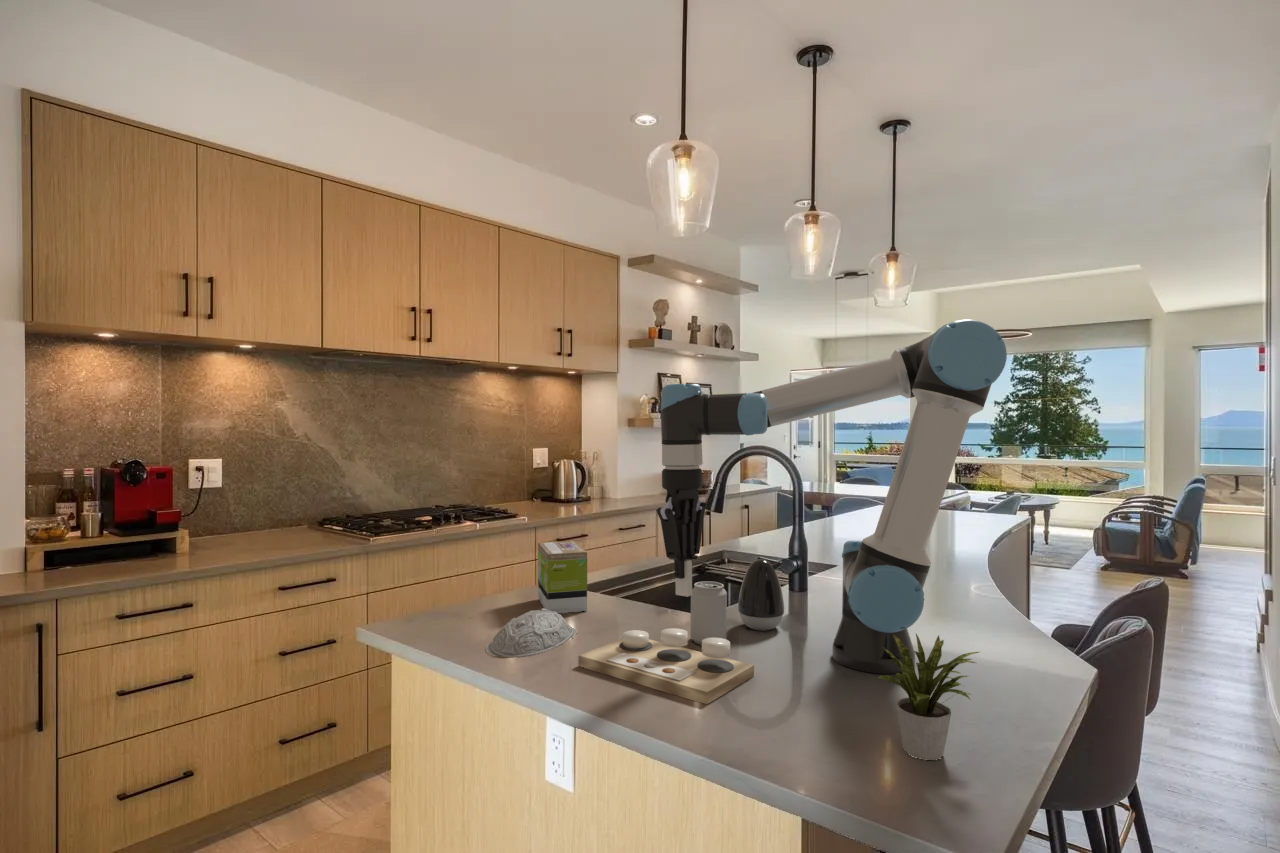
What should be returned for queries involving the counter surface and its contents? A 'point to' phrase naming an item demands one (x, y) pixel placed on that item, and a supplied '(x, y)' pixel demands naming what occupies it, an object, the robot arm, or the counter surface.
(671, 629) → the button
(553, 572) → the tea box
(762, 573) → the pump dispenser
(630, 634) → the button
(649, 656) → the button board
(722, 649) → the button
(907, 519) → the robot arm
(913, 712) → the house plant
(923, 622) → the counter surface
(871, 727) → the counter surface
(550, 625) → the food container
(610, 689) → the counter surface
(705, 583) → the can
